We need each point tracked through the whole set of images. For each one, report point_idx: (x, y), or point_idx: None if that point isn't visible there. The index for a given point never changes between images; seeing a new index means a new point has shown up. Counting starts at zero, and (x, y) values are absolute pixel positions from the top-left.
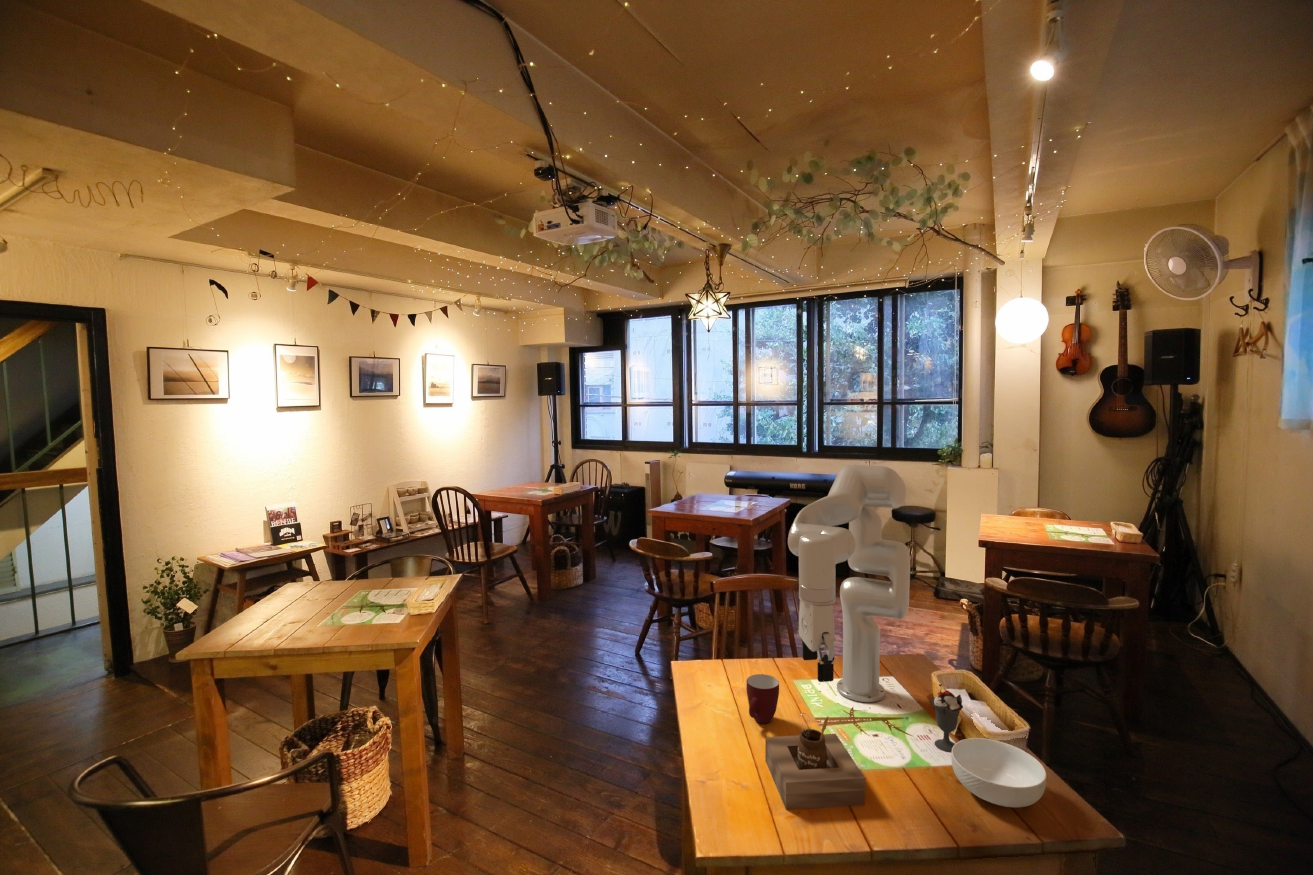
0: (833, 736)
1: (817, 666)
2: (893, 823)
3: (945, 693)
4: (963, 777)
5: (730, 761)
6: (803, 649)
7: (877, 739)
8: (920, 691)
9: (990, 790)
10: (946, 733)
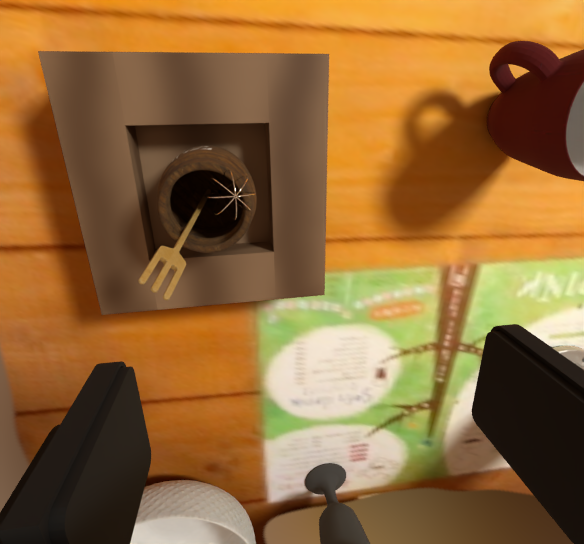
0: (310, 285)
1: (64, 467)
2: (59, 322)
3: None
4: (140, 503)
5: None
6: (571, 382)
7: (364, 373)
8: (506, 485)
9: None
10: (328, 503)
